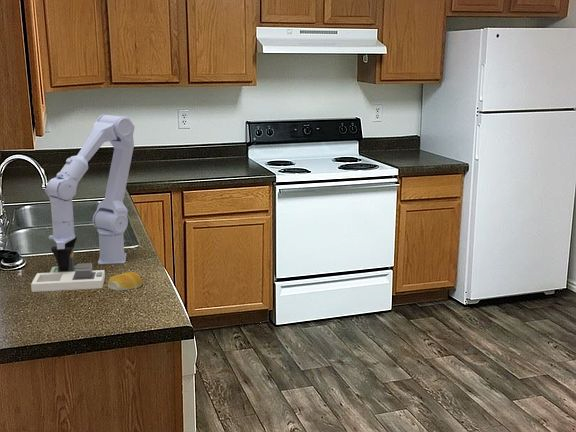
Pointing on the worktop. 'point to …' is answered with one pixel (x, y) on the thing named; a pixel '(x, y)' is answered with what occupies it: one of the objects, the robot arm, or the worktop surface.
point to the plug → (70, 263)
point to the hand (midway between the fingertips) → (66, 266)
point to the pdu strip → (69, 279)
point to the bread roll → (125, 281)
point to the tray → (54, 269)
